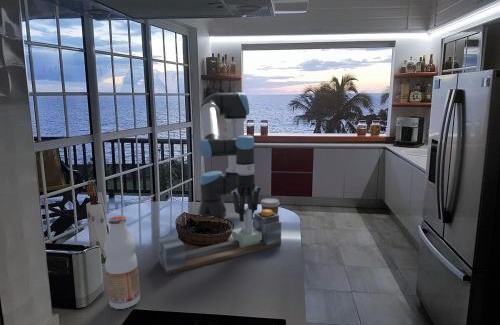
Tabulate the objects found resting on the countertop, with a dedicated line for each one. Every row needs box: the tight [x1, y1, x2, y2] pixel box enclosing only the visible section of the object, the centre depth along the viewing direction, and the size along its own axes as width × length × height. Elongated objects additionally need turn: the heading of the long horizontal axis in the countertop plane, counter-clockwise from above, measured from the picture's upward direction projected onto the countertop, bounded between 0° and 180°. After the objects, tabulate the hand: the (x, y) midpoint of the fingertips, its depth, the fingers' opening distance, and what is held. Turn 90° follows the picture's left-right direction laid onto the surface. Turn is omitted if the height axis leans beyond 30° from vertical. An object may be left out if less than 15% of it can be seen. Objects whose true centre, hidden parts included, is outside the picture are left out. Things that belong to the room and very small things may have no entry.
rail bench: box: [156, 211, 282, 275], centre depth 148 cm, size 12×50×12 cm, turn 120°
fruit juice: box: [103, 215, 141, 310], centre depth 112 cm, size 9×9×28 cm
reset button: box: [260, 209, 272, 218], centre depth 157 cm, size 5×5×2 cm
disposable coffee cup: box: [260, 197, 281, 215], centre depth 180 cm, size 10×10×12 cm
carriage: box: [231, 206, 262, 248], centre depth 153 cm, size 10×9×15 cm
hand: (246, 227), depth 153 cm, fingers closed on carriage, 2 cm apart
